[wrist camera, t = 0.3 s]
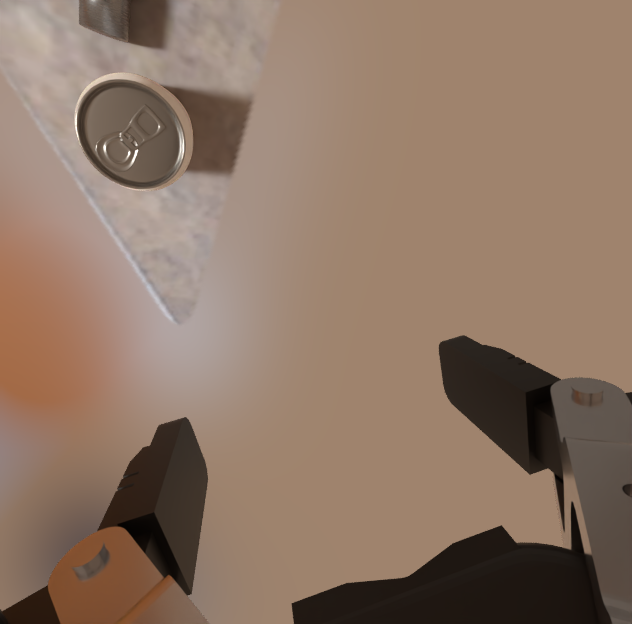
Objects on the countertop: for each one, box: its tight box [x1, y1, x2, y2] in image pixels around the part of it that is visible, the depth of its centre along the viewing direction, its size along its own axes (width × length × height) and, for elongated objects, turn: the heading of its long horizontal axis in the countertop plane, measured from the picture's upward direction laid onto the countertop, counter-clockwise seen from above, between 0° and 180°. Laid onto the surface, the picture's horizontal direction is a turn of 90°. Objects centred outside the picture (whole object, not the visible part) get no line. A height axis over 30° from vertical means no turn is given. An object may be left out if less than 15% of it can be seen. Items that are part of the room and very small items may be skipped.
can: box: [75, 73, 193, 191], centre depth 25 cm, size 6×6×12 cm
